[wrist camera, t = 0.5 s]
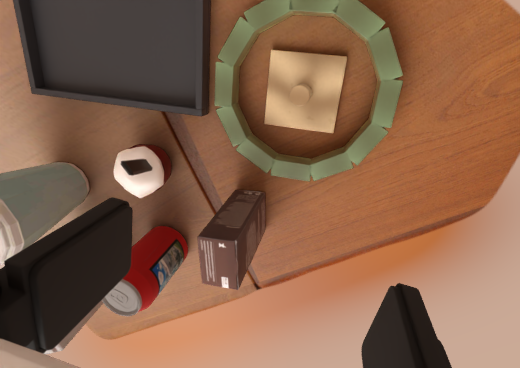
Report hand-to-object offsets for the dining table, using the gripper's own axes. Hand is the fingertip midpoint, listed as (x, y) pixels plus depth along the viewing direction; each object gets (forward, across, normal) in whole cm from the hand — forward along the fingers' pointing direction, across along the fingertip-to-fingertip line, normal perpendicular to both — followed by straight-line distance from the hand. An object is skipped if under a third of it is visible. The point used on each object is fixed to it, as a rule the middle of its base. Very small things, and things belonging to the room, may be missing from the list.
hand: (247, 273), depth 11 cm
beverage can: (+27, +16, +22) cm, 38 cm away
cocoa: (+27, +18, +9) cm, 34 cm away
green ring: (+27, +1, -4) cm, 27 cm away
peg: (+27, +1, -4) cm, 27 cm away
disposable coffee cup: (+27, +32, +17) cm, 45 cm away
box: (+27, +5, +13) cm, 30 cm away
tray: (+27, +25, -9) cm, 38 cm away
